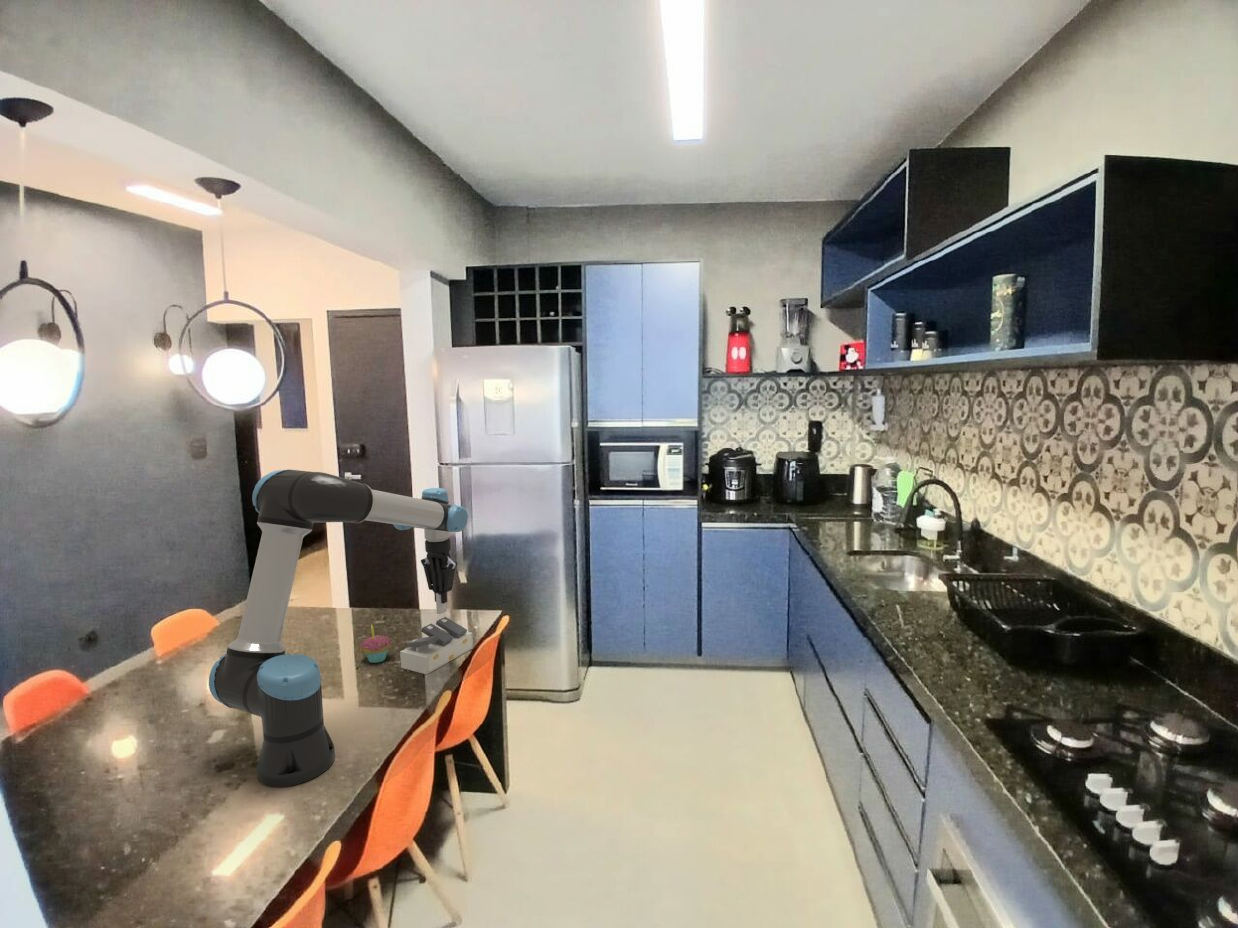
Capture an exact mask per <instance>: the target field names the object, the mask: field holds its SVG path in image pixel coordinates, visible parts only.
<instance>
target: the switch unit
mask: <svg viewBox="0 0 1238 928" xmlns="http://www.w3.org/2000/svg"><path fill="white" fill-rule="evenodd" d="M442 630H443V631H444V632H446V633H448V634H449V635H451V636H453V640H452V641H450V642H448V643H446V644H445V645H442V644H440V643H439V642H437V641H435V642H433V643H431V644H429V645H423V646H416V647H409V648H407V647H406V648H404V649H403V650H400V651H399V653H400V654H399V655H400V656H399V657H400V668H401V669H405V670H408V671H413V672H416V673H420V674H424V675H428V674H430V673H432V672H434V671H436V670H438V669H439V668H441V667H443V666H445V665H446V664H447V663H449V662H451V661H453V660H455V659H457V658H458V657H460V656H462V655H464V654H465V653H467V652H469V651H471V650H472V649H474V638H473V637H474V636H473V635H474V634H473V632H470V631H467V632H466V633H465V634H463V635H462V636H460V637H458V638H457V637H456V636H454V635H452V634H451V633H449V632H447V631H446V630H444V629H442Z"/></svg>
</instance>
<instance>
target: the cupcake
mask: <svg viewBox="0 0 1238 928" xmlns="http://www.w3.org/2000/svg"><path fill="white" fill-rule="evenodd" d="M370 625H371V626H370V629H371V630H370V631H371V636H370V637H367V638H366V639H365V640H363V641H362V643H361V645H360V646H361V651H362V653H363V654H365V656H366V657H367V660H368V662H369V663H373V664H374V663H375V664H376V663H381V662H383V661H385V660H386V658H387V654H388V651H389V649H390V648H391V647H392V642H391V639H390V638H389V637H388V636H385V635H381V634H375V630H374V625H373V624H372V623H371V624H370Z"/></svg>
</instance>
